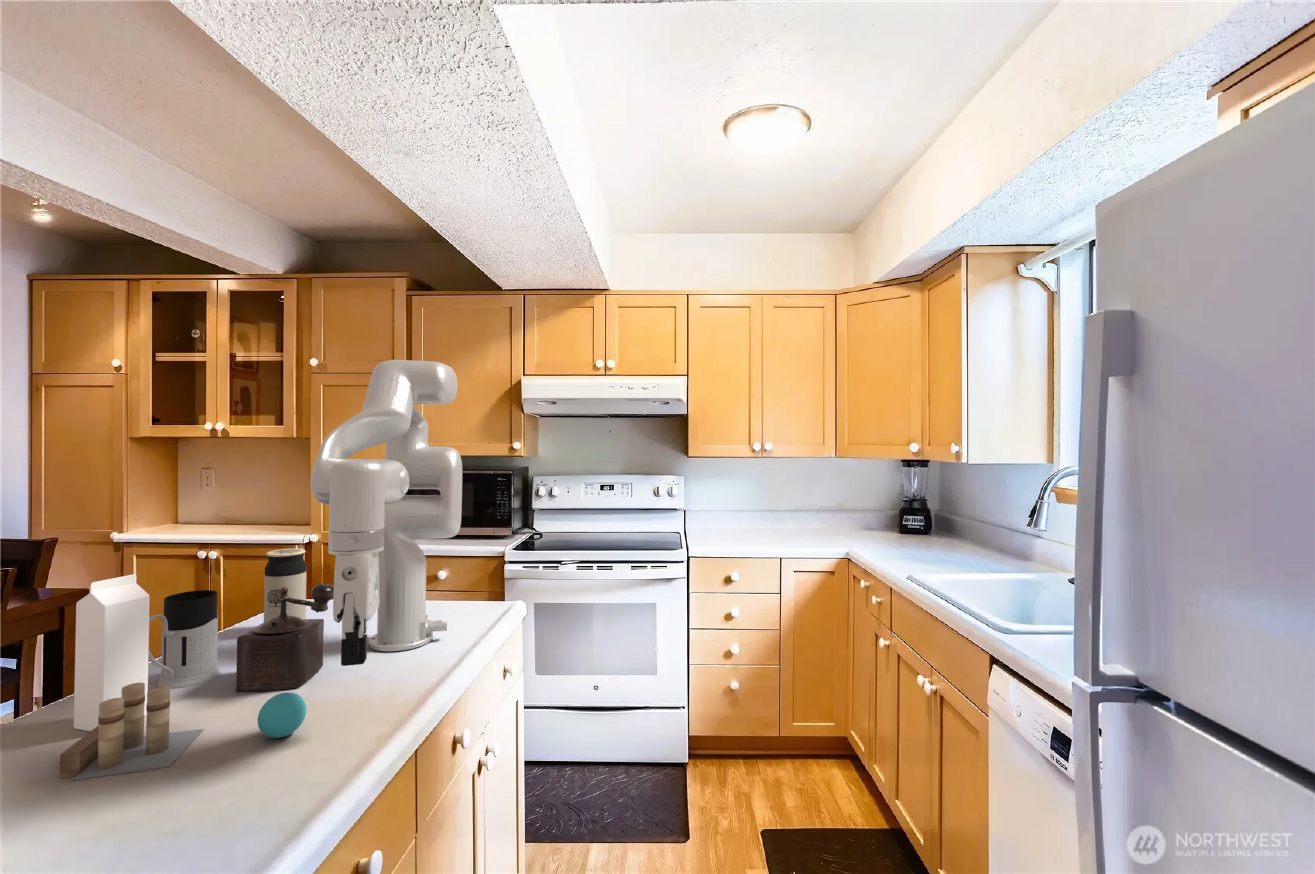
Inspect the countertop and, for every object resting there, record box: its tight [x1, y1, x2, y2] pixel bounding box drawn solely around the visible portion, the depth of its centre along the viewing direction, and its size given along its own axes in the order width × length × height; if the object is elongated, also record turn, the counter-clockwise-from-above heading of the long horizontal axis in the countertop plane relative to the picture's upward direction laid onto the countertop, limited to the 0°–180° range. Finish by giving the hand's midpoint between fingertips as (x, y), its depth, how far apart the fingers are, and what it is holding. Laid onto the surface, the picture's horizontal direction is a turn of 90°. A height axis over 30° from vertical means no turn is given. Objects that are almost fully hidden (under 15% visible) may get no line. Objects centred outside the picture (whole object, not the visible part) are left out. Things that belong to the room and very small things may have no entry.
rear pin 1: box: [98, 698, 124, 770], centre depth 75 cm, size 2×2×8 cm
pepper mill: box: [235, 582, 334, 693], centre depth 103 cm, size 16×11×18 cm
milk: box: [73, 573, 150, 732], centre depth 87 cm, size 6×6×22 cm
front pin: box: [145, 686, 171, 755], centre depth 78 cm, size 2×2×8 cm
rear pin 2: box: [122, 683, 145, 750], centre depth 80 cm, size 2×2×8 cm
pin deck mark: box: [73, 728, 205, 781], centre depth 78 cm, size 10×10×1 cm
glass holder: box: [148, 589, 221, 690], centre depth 100 cm, size 9×14×15 cm, turn 2°
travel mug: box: [263, 548, 307, 623], centre depth 128 cm, size 8×8×18 cm
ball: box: [257, 692, 307, 739], centre depth 83 cm, size 6×6×6 cm
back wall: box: [58, 725, 99, 779], centre depth 77 cm, size 2×9×3 cm, turn 18°
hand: (353, 662), depth 85 cm, fingers closed
